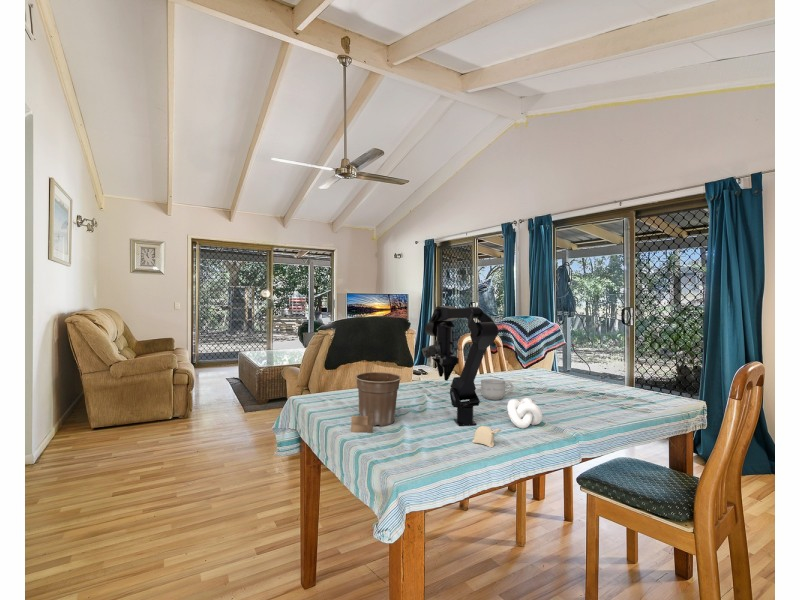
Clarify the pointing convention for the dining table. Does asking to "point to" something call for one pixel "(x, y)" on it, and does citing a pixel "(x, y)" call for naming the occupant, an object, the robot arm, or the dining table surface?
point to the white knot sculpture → (524, 412)
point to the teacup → (494, 388)
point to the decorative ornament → (485, 436)
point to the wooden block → (362, 423)
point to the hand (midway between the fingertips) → (443, 378)
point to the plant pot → (378, 396)
